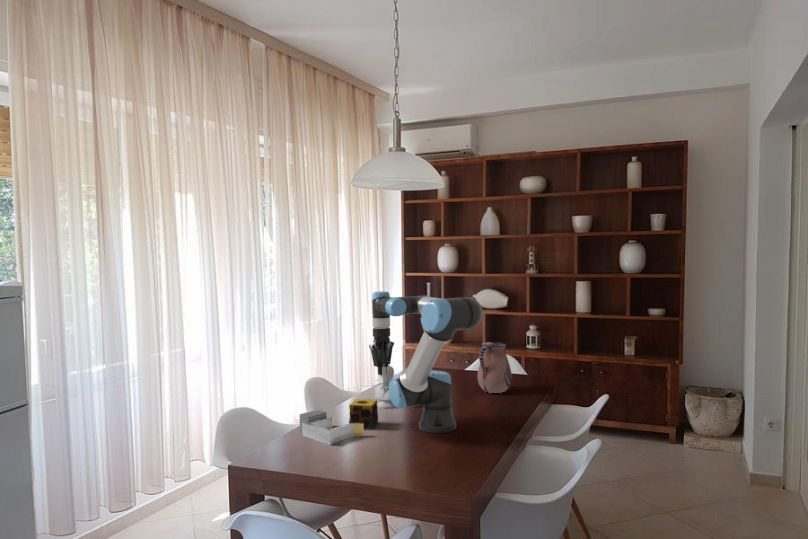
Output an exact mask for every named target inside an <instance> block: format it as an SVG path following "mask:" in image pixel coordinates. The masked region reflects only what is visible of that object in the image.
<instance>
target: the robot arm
mask: <svg viewBox="0 0 808 539" xmlns="http://www.w3.org/2000/svg"><path fill="white" fill-rule="evenodd" d="M371 297H372V298H371V299H372V300H371V303H372V305H371V306H372V307H371V308H372V309H371V310H372V311H371V312H372V327H373V328H372V336H373V340H372V341H373V342H372V344H369V345H368V347H369V349H370V353H371V358H372V363H373V366H374V367H376V368H377V375H378V382H379V383H381V384H382V383H384V382H386V374H387V367H388V366H389V365H390V366H391V362H392V354H393V348H394V345H395V342H394V341H391V339H390V337H391V328H390V327H391V316H392V317H401V316H404V315H405V316H406V315H416V314H417V315H418V314H419V315H421V317H420V322H421V326H422V329H423V334H422V336H421V338H420V340H419V343H418V344H417V346H416V349H415V351H414V352H413V355H412V357H411V359H410V362H409V363H408V366H407V368H405V369H403V370H402V371H401V372H400V374H399V375H398V377H397V378H392V380H391V381H390V383H389V395H390V399H391V401H392V403H393V405H394V406H395V407H394V408H396V409H399V410H402V409H409V408H414V407H420V406H422V412H421V415H420V420H419V422H418V428H419V430H421V431H422V432H427V433H430V434H431V433H432V434H444V433H450V432H453V431H455V430H456V429H457V420H456V418H455V416H454V412H453V408H452V384H453V383H452V376H451V374H450V373H449V372H446V371H442V370H434V369H433V367H434V366H435V363H436V362H437V359H438V357H439V356H440V354H441V352H442V350H443V348H444V346H445V344H446V343H447V342H450V341H451V340H452V339H453V337H454V336H455V333H456V332H457V331H465V330H470V329H473V328H474V327H477V325H479V324H480V322H481V321H482V318H483V313H484V312H483V311H484V310H483V307H482V306H481V303H480V302H479V301H478V300H476V299H474V298H472V297H467V296H464V297H451V298H443V297H442V298H441V297H440V298H439V297H432V296H430V295H425V294H424V295H422V294H421V295H414V296H397V297H394V296H393V297H391V294H390V292H389V291H384V290H383V291H374V292H373V293H372V296H371Z"/></svg>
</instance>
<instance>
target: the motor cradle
mask: <svg viewBox="0 0 808 539" xmlns="http://www.w3.org/2000/svg"><path fill="white" fill-rule="evenodd" d="M299 432H301V434H302V436H303V437H305V438H309V439H311V440H314V441H317V442H318V443H319V442H320V443H322V444H325V445H328V446H332V445H334V443H335V444H336V443H339V442H341V440H342V441H344V439H345V440H347V439H348V440H349V439H350V438H355V437H364V436H365V429H364V423H350V424H349V423H347V424H344V425H341V426H336V427H334V413H330V414H329V416H327V411H324V410H320V409H315V410H311V411H308V412H304V413H300V414H299Z"/></svg>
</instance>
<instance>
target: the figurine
mask: <svg viewBox="0 0 808 539" xmlns="http://www.w3.org/2000/svg"><path fill="white" fill-rule="evenodd" d="M394 375H395V370H394V367H393V366H391V364H390V365H389V366H388V367H387V374H386V382H384V383H382V382H381V384H379V385H377V386H375V388H374V398H375V399H376V400H379V402H377V408H380V409H394V408H396V407H395V406H394V405H393V403H392V401H391V399H390V395H389V383H390V381H391V380H393V379H394Z"/></svg>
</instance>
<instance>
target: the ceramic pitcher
mask: <svg viewBox="0 0 808 539" xmlns="http://www.w3.org/2000/svg"><path fill="white" fill-rule="evenodd" d="M481 346H482V347H481V348H480V349H479V354H478V358H479V359H478V360H479V366H478V369H477V376H476V377H477V382H478V385H479V386H480V388H481V389H482V390H483V391H484V392H485V393H486V392H488V394H491V393H499V394H503V393H505V392H506V391H507V390H508V389H509V388H510V386H511V384H512V380H513V373H512V369H511V364H510V362H509V359H508V356H507V353H506V347H507V344H506V343H503V342H500V341H499V342H498V341H496V342H493V341H492V342H490V341H486V342H483V343H481ZM502 392H503V393H502Z"/></svg>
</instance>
